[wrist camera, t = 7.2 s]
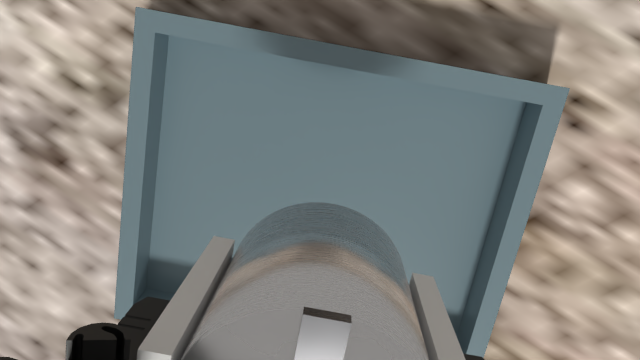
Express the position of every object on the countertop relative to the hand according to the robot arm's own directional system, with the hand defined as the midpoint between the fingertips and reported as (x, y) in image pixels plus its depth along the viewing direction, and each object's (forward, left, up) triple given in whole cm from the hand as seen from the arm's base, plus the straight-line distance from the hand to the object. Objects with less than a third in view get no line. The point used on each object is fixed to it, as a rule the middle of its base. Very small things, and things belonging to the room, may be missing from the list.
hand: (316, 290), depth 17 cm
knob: (0, 0, 0) cm, 0 cm away
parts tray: (0, 0, -11) cm, 11 cm away
